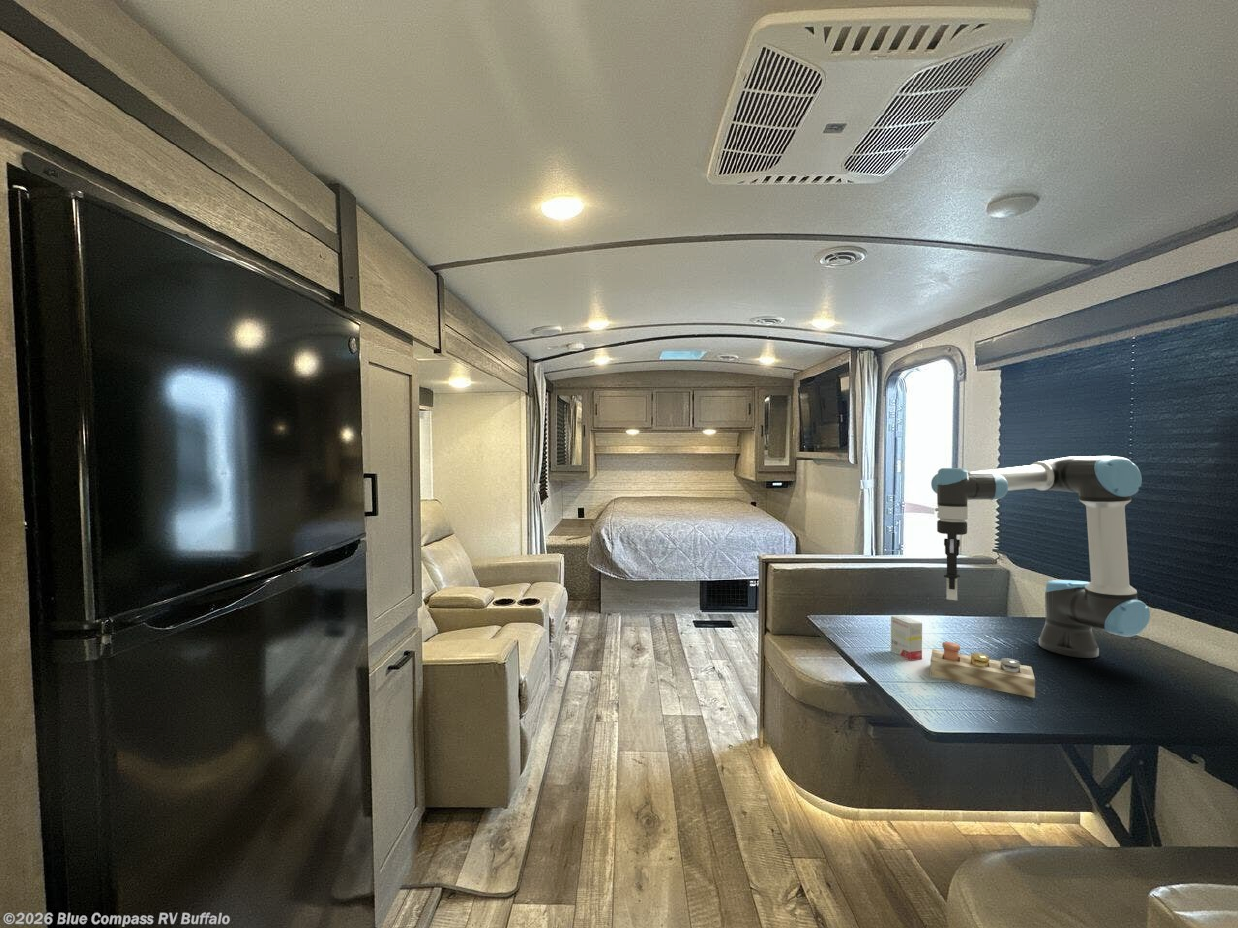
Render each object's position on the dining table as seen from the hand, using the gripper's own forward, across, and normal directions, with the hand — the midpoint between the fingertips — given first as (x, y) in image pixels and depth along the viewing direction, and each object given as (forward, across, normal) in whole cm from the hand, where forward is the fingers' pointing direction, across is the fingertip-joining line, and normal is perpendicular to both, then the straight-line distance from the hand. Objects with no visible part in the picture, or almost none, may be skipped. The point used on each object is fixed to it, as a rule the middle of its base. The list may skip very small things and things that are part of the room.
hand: (951, 599), depth 153 cm
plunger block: (+22, +1, +7) cm, 23 cm away
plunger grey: (+22, +1, +14) cm, 26 cm away
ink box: (+23, -9, -13) cm, 28 cm away
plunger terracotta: (+20, +1, 0) cm, 20 cm away
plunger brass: (+22, +1, +7) cm, 23 cm away
